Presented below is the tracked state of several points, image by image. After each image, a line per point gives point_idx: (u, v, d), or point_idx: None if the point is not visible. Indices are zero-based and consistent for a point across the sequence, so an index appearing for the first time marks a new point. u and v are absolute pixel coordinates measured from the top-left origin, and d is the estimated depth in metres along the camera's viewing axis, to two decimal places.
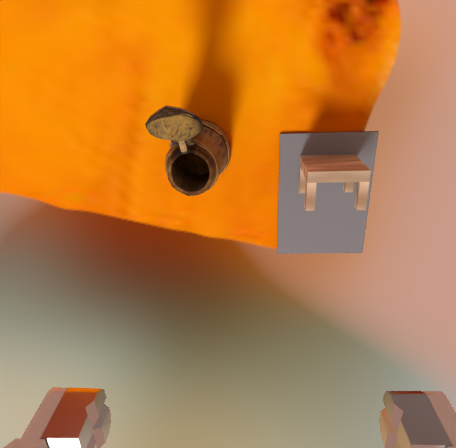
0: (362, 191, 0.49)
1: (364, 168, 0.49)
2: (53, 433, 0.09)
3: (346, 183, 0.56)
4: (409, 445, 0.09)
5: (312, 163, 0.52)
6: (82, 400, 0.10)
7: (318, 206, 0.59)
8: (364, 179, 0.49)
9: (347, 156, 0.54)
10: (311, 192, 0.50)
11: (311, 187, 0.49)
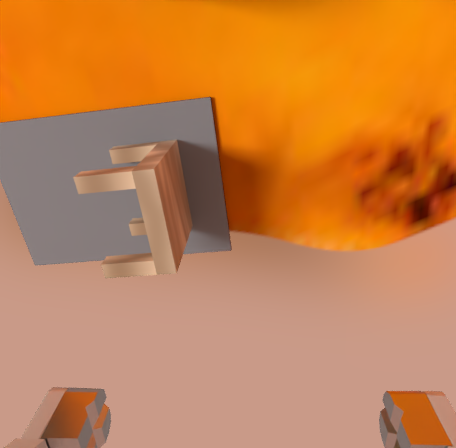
0: (137, 267, 0.28)
1: (177, 259, 0.28)
2: (53, 433, 0.09)
3: (144, 223, 0.34)
4: (409, 445, 0.09)
5: (169, 168, 0.28)
6: (82, 400, 0.10)
7: None
8: (159, 266, 0.27)
9: (188, 217, 0.33)
10: (113, 182, 0.25)
11: (124, 180, 0.25)
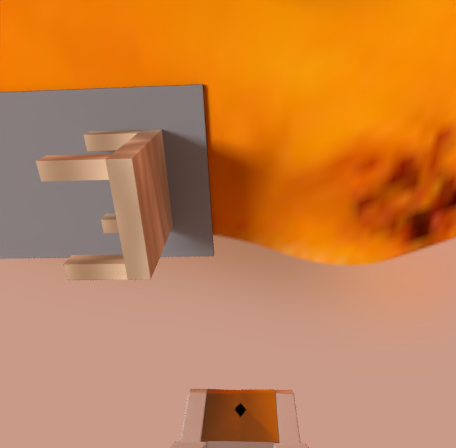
0: (105, 270, 0.24)
1: (152, 264, 0.25)
2: (212, 436, 0.09)
3: None
4: (240, 442, 0.09)
5: (150, 160, 0.25)
6: (228, 402, 0.10)
7: None
8: (131, 270, 0.24)
9: (168, 216, 0.30)
10: (83, 170, 0.21)
11: (95, 169, 0.21)
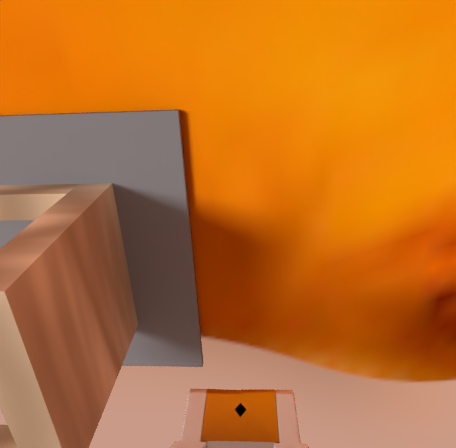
0: None
1: (82, 445, 0.14)
2: (212, 436, 0.09)
3: None
4: (240, 442, 0.09)
5: (77, 255, 0.13)
6: (228, 402, 0.10)
7: None
8: None
9: (128, 318, 0.19)
10: None
11: None
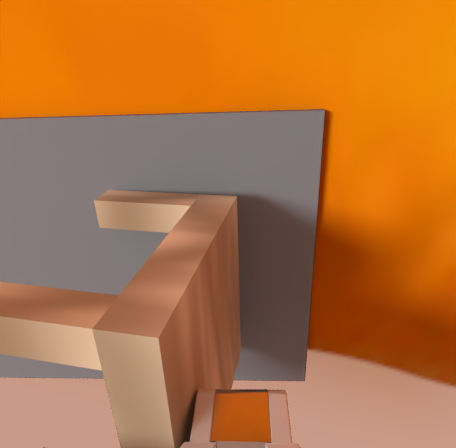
0: None
1: None
2: (221, 436, 0.09)
3: None
4: (232, 442, 0.09)
5: (209, 282, 0.11)
6: (237, 402, 0.10)
7: (62, 257, 0.17)
8: None
9: (235, 346, 0.17)
10: (43, 343, 0.09)
11: (70, 345, 0.08)
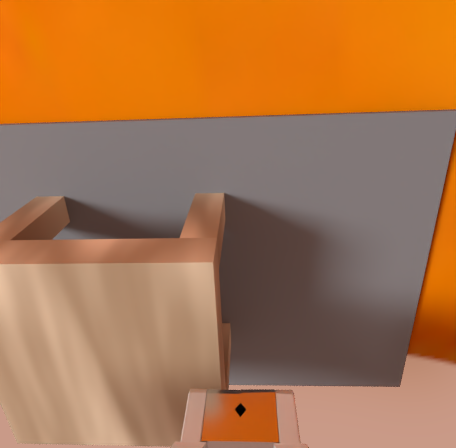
0: None
1: (37, 434, 0.14)
2: (212, 436, 0.09)
3: None
4: (240, 442, 0.09)
5: (73, 296, 0.11)
6: (228, 402, 0.10)
7: None
8: None
9: None
10: None
11: None
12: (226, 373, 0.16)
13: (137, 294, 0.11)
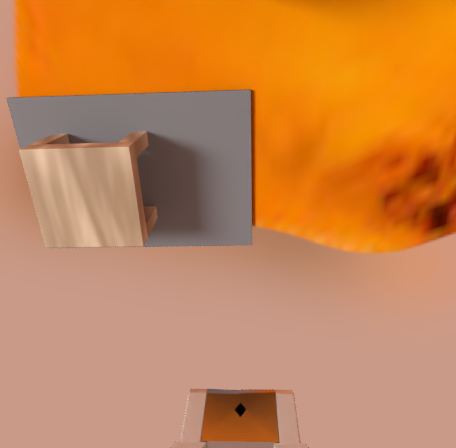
0: None
1: (55, 241, 0.30)
2: (212, 436, 0.09)
3: None
4: (240, 442, 0.09)
5: (73, 164, 0.27)
6: (228, 402, 0.10)
7: None
8: None
9: (127, 231, 0.29)
10: None
11: None
12: (148, 220, 0.32)
13: (99, 162, 0.27)
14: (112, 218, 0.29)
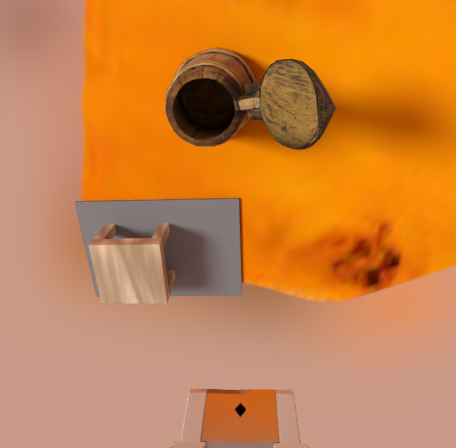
0: None
1: (108, 299, 0.45)
2: (212, 436, 0.09)
3: None
4: (240, 442, 0.09)
5: (122, 253, 0.42)
6: (228, 402, 0.10)
7: None
8: None
9: (156, 294, 0.44)
10: None
11: None
12: (169, 283, 0.46)
13: (140, 253, 0.42)
14: (147, 286, 0.44)
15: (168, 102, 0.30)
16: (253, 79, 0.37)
